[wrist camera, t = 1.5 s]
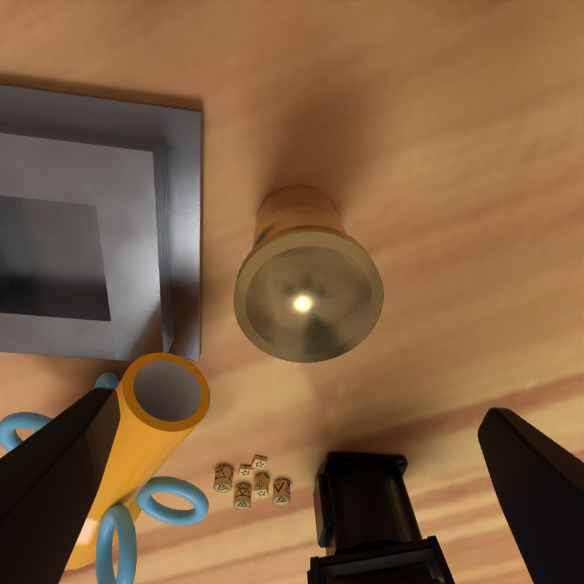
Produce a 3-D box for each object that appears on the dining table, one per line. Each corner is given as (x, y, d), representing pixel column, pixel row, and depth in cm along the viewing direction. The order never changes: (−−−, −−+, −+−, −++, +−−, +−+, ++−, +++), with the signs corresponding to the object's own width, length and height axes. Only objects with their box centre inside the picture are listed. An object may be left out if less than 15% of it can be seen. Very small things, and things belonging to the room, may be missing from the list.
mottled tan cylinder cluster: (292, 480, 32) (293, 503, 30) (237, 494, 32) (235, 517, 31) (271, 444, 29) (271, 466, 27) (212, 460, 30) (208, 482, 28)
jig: (203, 111, 17) (190, 115, 14) (201, 352, 24) (191, 385, 21) (-135, 65, 15) (-218, 61, 13) (-35, 334, 22) (-76, 368, 20)
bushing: (354, 183, 19) (401, 242, 12) (335, 274, 21) (365, 367, 14) (252, 171, 18) (237, 224, 11) (245, 265, 21) (230, 357, 14)
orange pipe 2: (-17, 434, 24) (34, 272, 17) (145, 421, 31) (230, 303, 23) (-50, 688, 17) (13, 601, 10) (169, 599, 24) (304, 507, 16)
